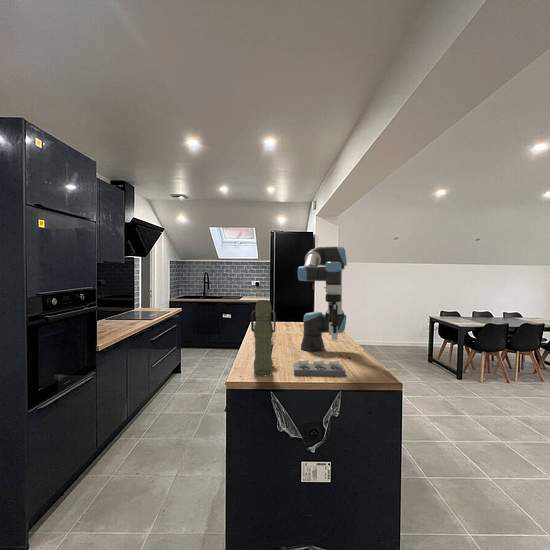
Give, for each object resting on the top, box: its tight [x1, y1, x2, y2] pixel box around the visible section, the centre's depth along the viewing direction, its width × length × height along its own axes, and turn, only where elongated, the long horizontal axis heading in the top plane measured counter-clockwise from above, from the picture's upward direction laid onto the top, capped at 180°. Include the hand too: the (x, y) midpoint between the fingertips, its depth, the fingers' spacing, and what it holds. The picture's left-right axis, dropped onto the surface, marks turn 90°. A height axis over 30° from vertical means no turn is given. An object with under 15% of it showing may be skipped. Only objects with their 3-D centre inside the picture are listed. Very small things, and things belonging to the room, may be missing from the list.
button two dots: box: [297, 358, 309, 368], centre depth 175 cm, size 5×5×4 cm
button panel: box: [293, 363, 346, 377], centre depth 174 cm, size 12×24×3 cm, turn 87°
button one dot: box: [328, 358, 340, 368], centre depth 174 cm, size 5×5×4 cm
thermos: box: [250, 299, 277, 376], centre depth 171 cm, size 9×12×35 cm
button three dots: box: [313, 358, 325, 368], centre depth 174 cm, size 5×5×4 cm
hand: (333, 337), depth 174 cm, fingers open, 13 cm apart
